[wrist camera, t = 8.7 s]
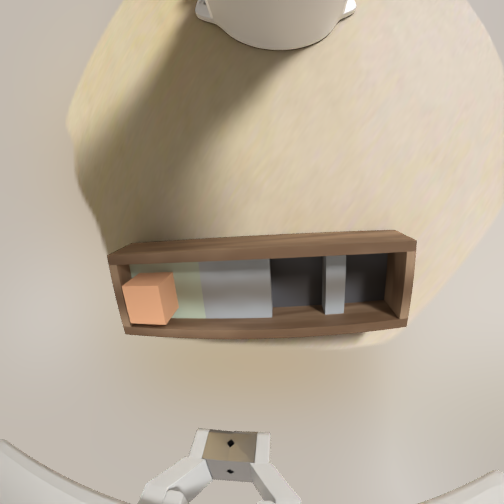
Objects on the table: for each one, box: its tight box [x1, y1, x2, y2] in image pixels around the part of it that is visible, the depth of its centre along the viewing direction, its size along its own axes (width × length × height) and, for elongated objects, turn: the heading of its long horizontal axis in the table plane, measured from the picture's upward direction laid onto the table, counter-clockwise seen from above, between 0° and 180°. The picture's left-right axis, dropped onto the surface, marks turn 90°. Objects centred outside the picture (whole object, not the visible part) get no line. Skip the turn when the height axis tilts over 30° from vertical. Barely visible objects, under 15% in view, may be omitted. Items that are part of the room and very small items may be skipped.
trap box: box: [107, 230, 417, 339], centre depth 28 cm, size 9×30×6 cm, turn 94°
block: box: [122, 272, 179, 325], centre depth 27 cm, size 4×4×4 cm
